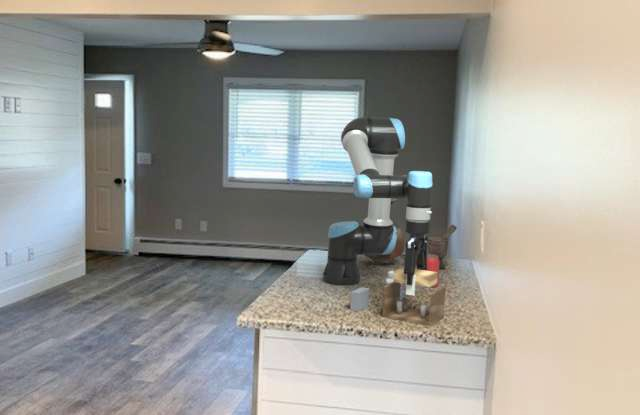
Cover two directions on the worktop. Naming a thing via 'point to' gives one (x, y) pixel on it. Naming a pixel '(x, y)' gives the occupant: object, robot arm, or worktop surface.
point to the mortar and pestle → (440, 245)
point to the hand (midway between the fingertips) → (414, 292)
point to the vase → (397, 250)
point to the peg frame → (425, 316)
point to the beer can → (433, 265)
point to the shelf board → (417, 277)
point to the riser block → (359, 299)
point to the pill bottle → (390, 280)
